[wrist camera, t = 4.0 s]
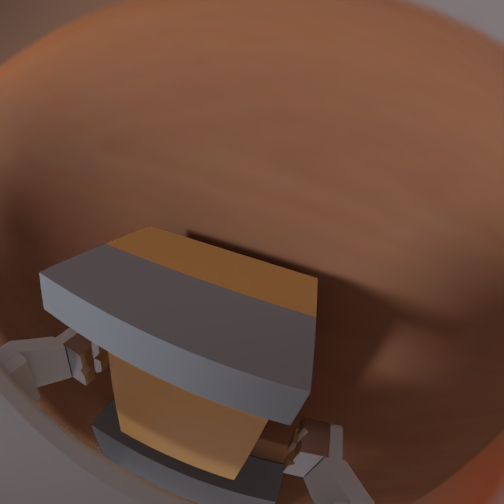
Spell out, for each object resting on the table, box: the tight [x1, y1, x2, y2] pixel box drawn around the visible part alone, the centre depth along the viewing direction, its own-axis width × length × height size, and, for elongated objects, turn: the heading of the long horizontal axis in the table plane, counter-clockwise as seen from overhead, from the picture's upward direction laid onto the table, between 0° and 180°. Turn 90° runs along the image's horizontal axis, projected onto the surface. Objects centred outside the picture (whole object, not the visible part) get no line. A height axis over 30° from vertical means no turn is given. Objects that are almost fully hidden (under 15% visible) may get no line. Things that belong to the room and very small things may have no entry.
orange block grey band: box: [39, 226, 318, 480], centre depth 9 cm, size 6×10×6 cm, turn 166°
